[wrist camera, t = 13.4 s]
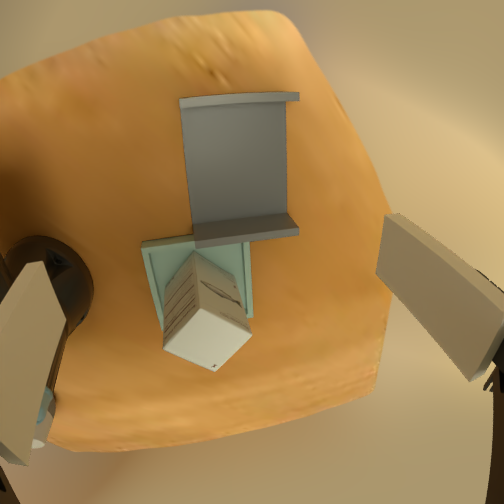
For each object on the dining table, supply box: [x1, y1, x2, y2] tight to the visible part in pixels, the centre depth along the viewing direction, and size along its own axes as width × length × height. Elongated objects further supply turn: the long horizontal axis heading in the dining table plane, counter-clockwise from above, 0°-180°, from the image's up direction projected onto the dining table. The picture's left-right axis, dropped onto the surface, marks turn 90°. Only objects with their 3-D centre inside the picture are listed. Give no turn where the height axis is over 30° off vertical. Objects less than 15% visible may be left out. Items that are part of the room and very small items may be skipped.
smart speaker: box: [31, 396, 56, 448], centre depth 44 cm, size 10×9×14 cm
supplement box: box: [163, 251, 252, 372], centre depth 39 cm, size 7×7×13 cm
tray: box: [141, 234, 253, 331], centre depth 44 cm, size 14×14×2 cm
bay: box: [179, 92, 299, 249], centre depth 36 cm, size 12×17×5 cm
